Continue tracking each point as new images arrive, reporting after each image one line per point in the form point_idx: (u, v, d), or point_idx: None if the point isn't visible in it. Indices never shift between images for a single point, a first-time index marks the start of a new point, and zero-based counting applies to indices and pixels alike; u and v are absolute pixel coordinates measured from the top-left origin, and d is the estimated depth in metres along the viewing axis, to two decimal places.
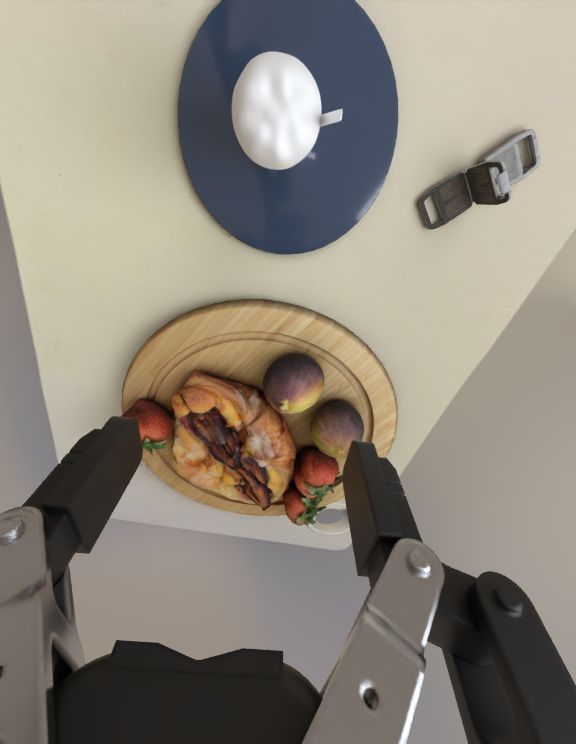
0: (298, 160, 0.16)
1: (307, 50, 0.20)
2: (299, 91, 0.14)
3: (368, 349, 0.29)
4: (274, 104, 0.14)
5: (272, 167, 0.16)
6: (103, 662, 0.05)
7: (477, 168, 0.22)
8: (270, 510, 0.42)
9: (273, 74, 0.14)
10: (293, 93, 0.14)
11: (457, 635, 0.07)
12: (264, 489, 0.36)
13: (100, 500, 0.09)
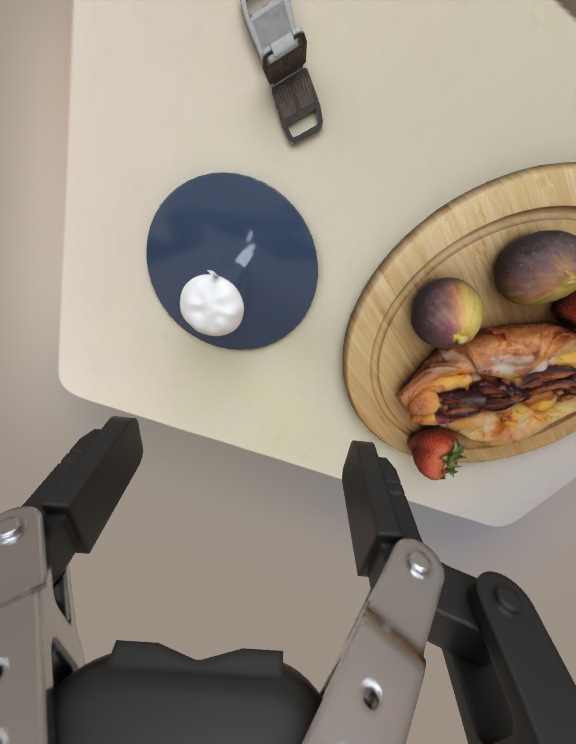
0: (238, 296, 0.21)
1: (182, 251, 0.27)
2: (198, 293, 0.20)
3: (443, 210, 0.24)
4: (205, 312, 0.21)
5: (241, 316, 0.22)
6: (103, 662, 0.05)
7: (268, 75, 0.20)
8: None
9: (190, 309, 0.21)
10: (199, 297, 0.20)
11: (457, 635, 0.07)
12: None
13: (100, 500, 0.09)
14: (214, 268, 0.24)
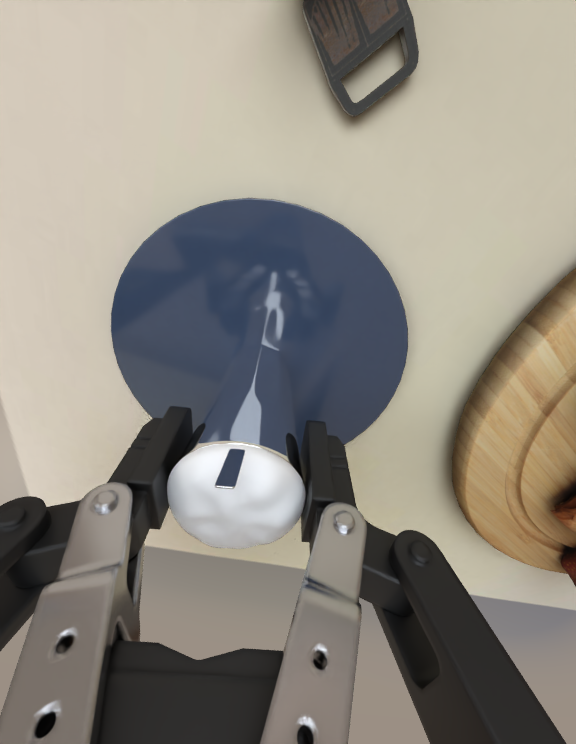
0: (293, 479, 0.09)
1: (172, 342, 0.16)
2: (203, 495, 0.09)
3: None
4: (224, 526, 0.09)
5: (302, 508, 0.10)
6: None
7: None
8: None
9: (190, 522, 0.09)
10: (207, 503, 0.09)
11: (377, 586, 0.08)
12: None
13: None
14: (229, 387, 0.12)
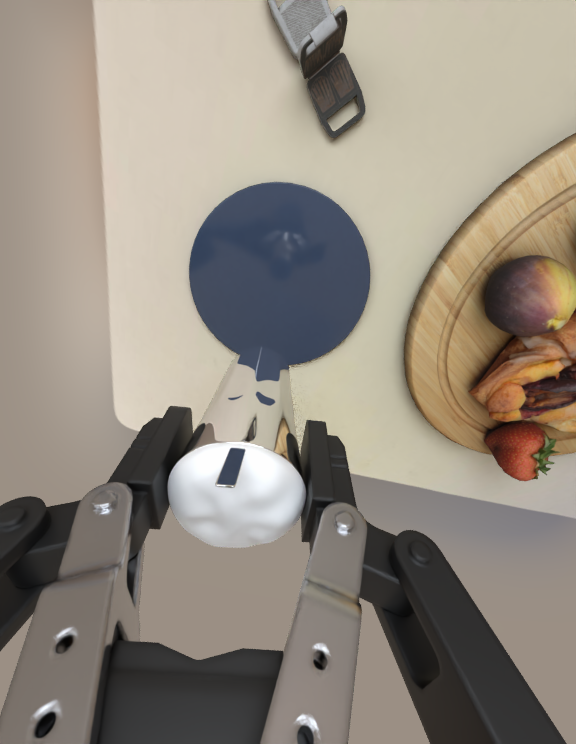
0: (294, 478, 0.09)
1: (226, 272, 0.26)
2: (204, 494, 0.09)
3: (513, 181, 0.21)
4: (224, 525, 0.09)
5: (303, 508, 0.10)
6: None
7: (305, 68, 0.18)
8: None
9: (190, 521, 0.09)
10: (207, 502, 0.09)
11: (377, 586, 0.08)
12: None
13: (167, 481, 0.10)
14: (229, 386, 0.12)
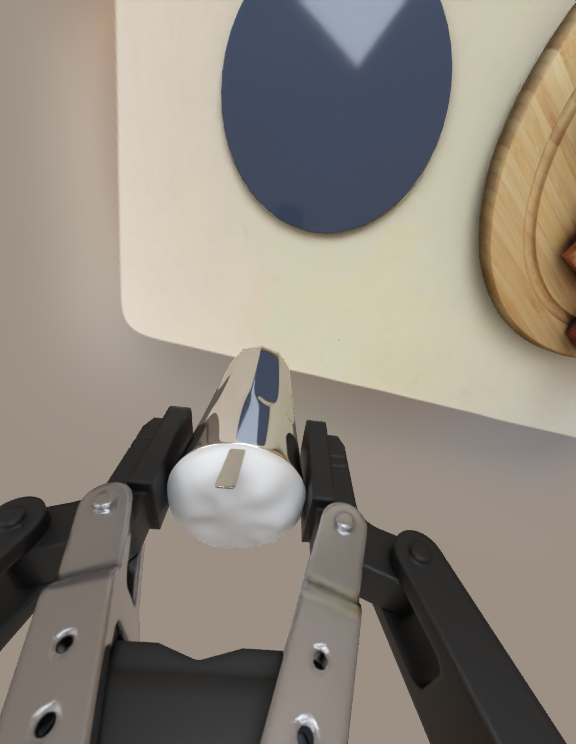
0: (294, 479, 0.09)
1: (268, 84, 0.21)
2: (203, 495, 0.09)
3: None
4: (224, 526, 0.09)
5: None
6: None
7: None
8: None
9: (190, 522, 0.09)
10: (207, 503, 0.09)
11: (377, 586, 0.08)
12: None
13: None
14: (229, 387, 0.12)
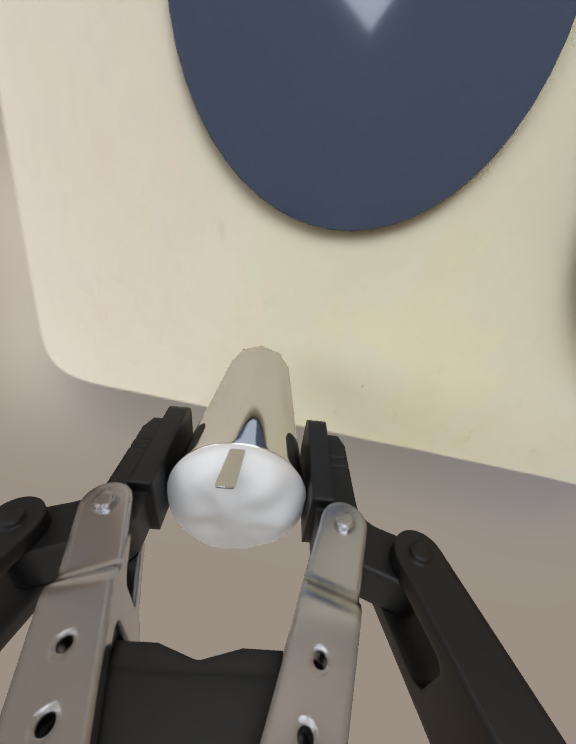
0: (294, 479, 0.09)
1: None
2: (203, 495, 0.09)
3: None
4: (224, 526, 0.09)
5: None
6: None
7: None
8: None
9: (190, 522, 0.09)
10: (207, 503, 0.09)
11: (377, 586, 0.08)
12: None
13: None
14: (229, 387, 0.12)
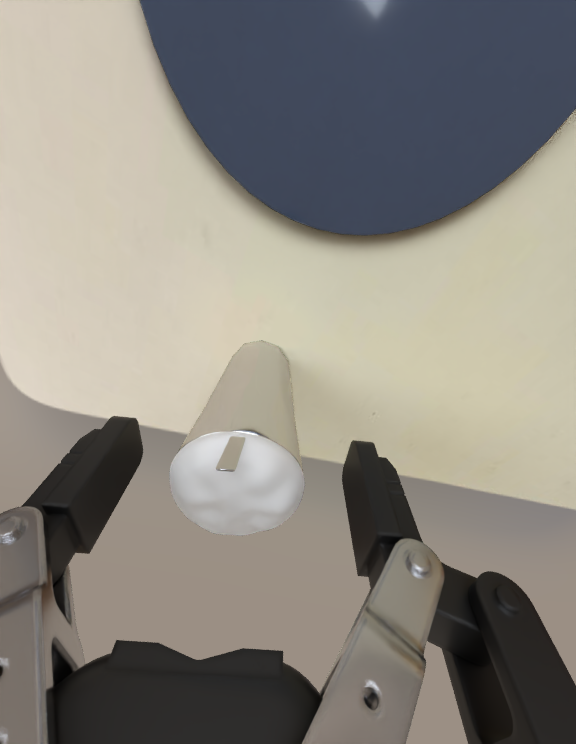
0: (292, 467, 0.09)
1: None
2: (205, 481, 0.09)
3: None
4: (225, 512, 0.09)
5: (301, 496, 0.10)
6: (103, 662, 0.05)
7: None
8: None
9: (192, 508, 0.09)
10: (208, 489, 0.09)
11: (457, 635, 0.07)
12: None
13: (100, 500, 0.09)
14: (230, 379, 0.13)
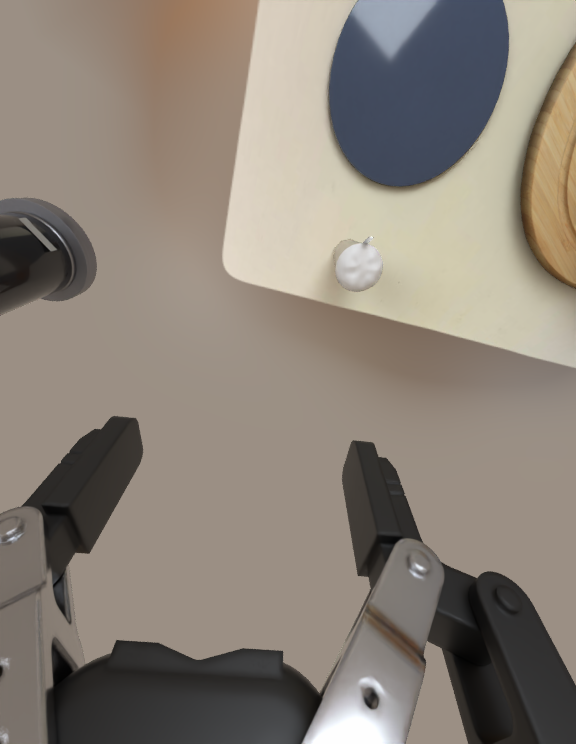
0: (380, 256, 0.28)
1: (367, 65, 0.27)
2: (354, 257, 0.28)
3: None
4: (358, 271, 0.28)
5: (381, 271, 0.29)
6: (103, 662, 0.05)
7: None
8: None
9: (346, 271, 0.28)
10: (354, 261, 0.28)
11: (457, 635, 0.07)
12: None
13: (100, 500, 0.09)
14: (346, 243, 0.32)
